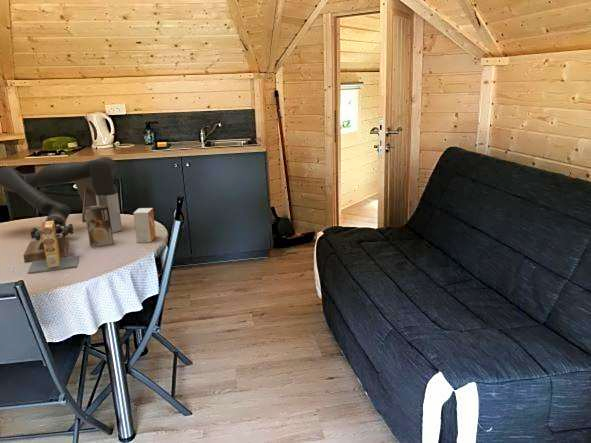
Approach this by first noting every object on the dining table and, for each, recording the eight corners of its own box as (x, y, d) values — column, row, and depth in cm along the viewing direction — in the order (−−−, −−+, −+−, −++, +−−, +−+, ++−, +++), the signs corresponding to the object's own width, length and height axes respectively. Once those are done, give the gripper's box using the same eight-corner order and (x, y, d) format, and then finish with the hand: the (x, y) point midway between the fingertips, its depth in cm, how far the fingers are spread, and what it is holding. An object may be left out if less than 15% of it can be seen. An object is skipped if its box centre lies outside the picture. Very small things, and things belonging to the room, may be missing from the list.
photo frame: (95, 211, 254) (87, 164, 247) (116, 217, 241) (109, 168, 233) (67, 217, 244) (58, 168, 237) (87, 224, 230) (79, 173, 223)
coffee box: (112, 240, 205) (107, 203, 201) (114, 244, 200) (109, 206, 196) (89, 243, 201) (83, 206, 197) (90, 247, 196) (84, 209, 191)
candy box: (60, 266, 174) (53, 226, 170) (47, 268, 172) (40, 227, 168) (61, 258, 182) (54, 220, 178) (48, 260, 180) (41, 221, 176)
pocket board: (68, 243, 202) (67, 236, 201) (65, 257, 185) (64, 249, 185) (31, 248, 197) (30, 241, 196) (24, 262, 181) (23, 254, 180)
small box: (151, 242, 201) (148, 212, 197) (136, 242, 201) (132, 212, 197) (156, 236, 209) (153, 207, 205) (141, 237, 209) (138, 208, 205)
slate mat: (78, 256, 185) (78, 255, 185) (77, 267, 175) (76, 265, 174) (32, 262, 180) (32, 261, 180) (27, 274, 169) (27, 272, 169)
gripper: (33, 218, 186) (27, 229, 171) (73, 213, 191) (70, 224, 176) (36, 236, 188) (30, 248, 173) (75, 231, 193) (73, 243, 178)
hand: (50, 236), depth 175 cm, fingers open, 8 cm apart
